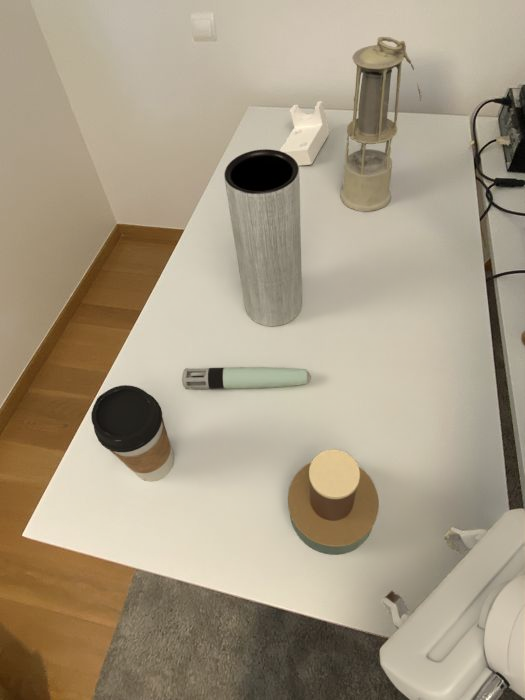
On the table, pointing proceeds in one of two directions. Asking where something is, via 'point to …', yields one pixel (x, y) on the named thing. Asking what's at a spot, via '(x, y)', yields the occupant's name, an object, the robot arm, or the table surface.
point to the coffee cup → (134, 431)
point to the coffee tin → (332, 533)
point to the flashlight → (246, 377)
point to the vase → (267, 233)
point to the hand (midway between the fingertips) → (420, 567)
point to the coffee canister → (333, 484)
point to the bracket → (306, 134)
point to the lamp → (372, 126)
